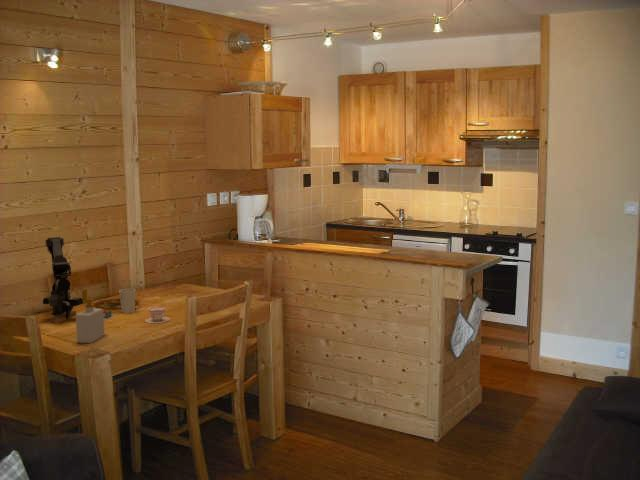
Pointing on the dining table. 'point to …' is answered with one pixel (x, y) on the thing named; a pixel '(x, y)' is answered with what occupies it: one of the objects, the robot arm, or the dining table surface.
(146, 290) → the dining table surface
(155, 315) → the teacup
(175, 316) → the dining table surface
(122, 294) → the cup
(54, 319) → the rail
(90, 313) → the soap bottle
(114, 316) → the board
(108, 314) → the bracket far
